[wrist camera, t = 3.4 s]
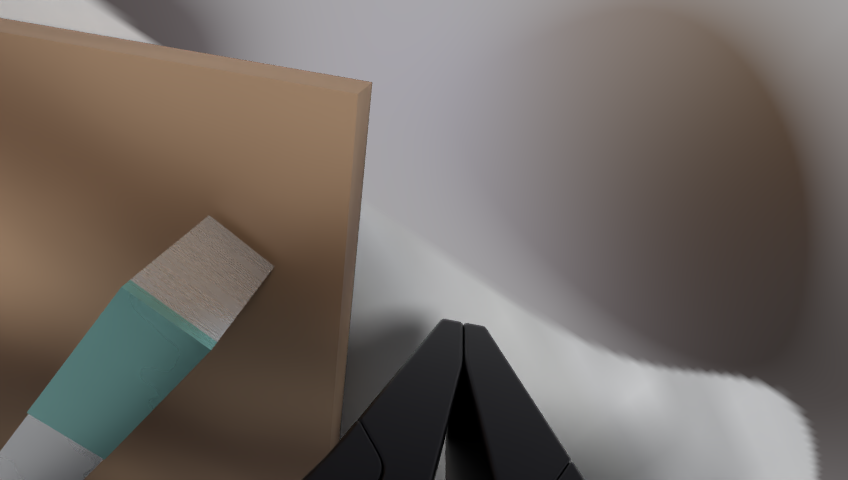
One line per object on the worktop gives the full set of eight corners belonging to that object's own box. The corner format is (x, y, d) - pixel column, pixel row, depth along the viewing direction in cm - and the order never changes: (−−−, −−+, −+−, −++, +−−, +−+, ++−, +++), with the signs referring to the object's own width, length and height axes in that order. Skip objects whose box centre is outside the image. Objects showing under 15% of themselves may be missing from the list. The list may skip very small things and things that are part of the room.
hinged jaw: (31, 523, 15) (-49, 616, 13) (-17, 498, 15) (-107, 589, 13) (274, 266, 10) (210, 350, 8) (209, 215, 9) (121, 286, 7)
